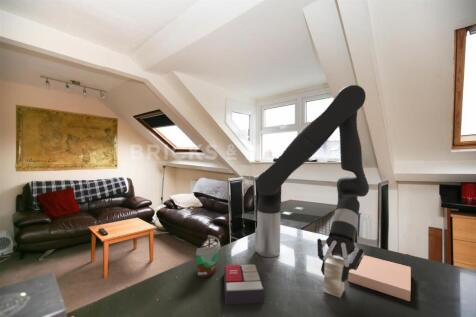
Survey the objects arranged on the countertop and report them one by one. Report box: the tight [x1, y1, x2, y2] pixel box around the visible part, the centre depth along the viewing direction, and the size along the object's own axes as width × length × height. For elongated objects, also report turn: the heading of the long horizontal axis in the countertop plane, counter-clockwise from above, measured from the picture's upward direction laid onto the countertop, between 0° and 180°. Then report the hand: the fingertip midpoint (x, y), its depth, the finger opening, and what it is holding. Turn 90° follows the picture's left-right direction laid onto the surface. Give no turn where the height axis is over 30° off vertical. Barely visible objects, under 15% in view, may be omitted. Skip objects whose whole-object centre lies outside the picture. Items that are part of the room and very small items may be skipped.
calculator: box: [223, 264, 266, 305], centre depth 70 cm, size 11×4×15 cm
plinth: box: [347, 254, 412, 302], centre depth 74 cm, size 16×16×3 cm
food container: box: [195, 234, 221, 278], centre depth 79 cm, size 12×6×10 cm, turn 168°
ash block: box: [323, 256, 346, 299], centre depth 67 cm, size 5×5×9 cm
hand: (333, 277), depth 66 cm, fingers closed on ash block, 4 cm apart
